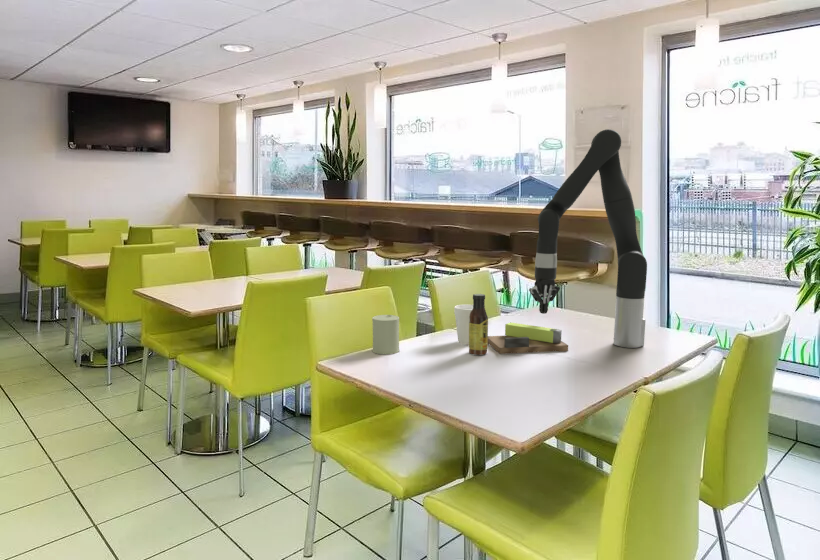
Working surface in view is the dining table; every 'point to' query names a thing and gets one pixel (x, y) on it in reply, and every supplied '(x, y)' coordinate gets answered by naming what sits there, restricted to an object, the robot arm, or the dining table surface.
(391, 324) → the can
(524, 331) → the yellow-green long bar
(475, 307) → the sauce bottle
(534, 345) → the board
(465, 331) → the foam cup
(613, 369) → the dining table surface
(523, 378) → the dining table surface
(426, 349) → the dining table surface
